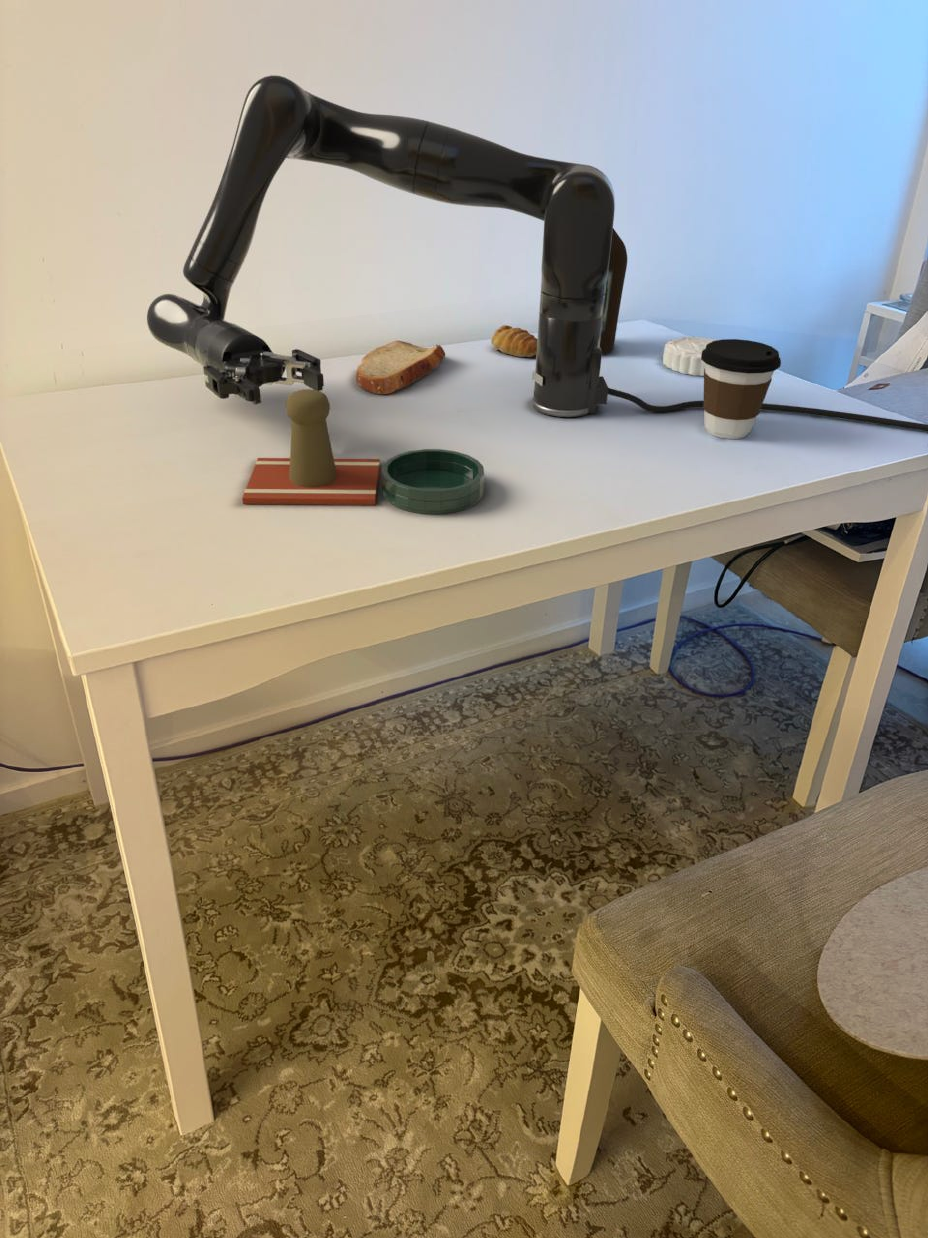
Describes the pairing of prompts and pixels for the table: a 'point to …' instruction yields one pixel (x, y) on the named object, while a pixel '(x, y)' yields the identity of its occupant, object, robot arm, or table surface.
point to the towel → (348, 489)
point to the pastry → (514, 341)
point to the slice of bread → (396, 366)
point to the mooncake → (686, 355)
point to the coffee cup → (735, 384)
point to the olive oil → (613, 293)
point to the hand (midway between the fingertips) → (289, 389)
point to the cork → (310, 439)
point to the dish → (432, 481)
